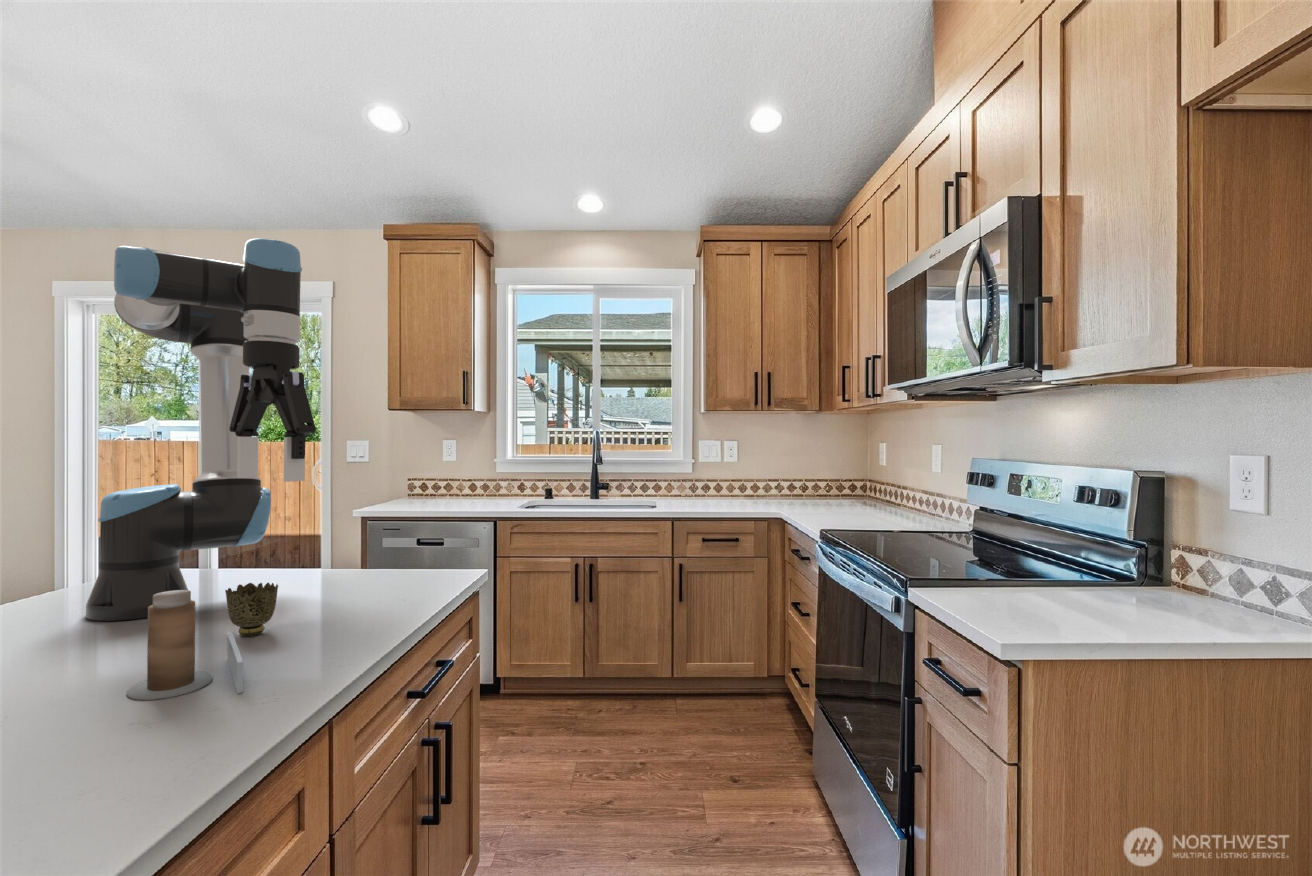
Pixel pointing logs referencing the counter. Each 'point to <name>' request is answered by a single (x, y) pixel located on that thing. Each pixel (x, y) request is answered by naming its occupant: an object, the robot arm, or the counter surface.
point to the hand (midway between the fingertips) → (270, 479)
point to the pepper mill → (171, 641)
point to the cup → (251, 607)
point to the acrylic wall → (235, 662)
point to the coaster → (142, 693)
